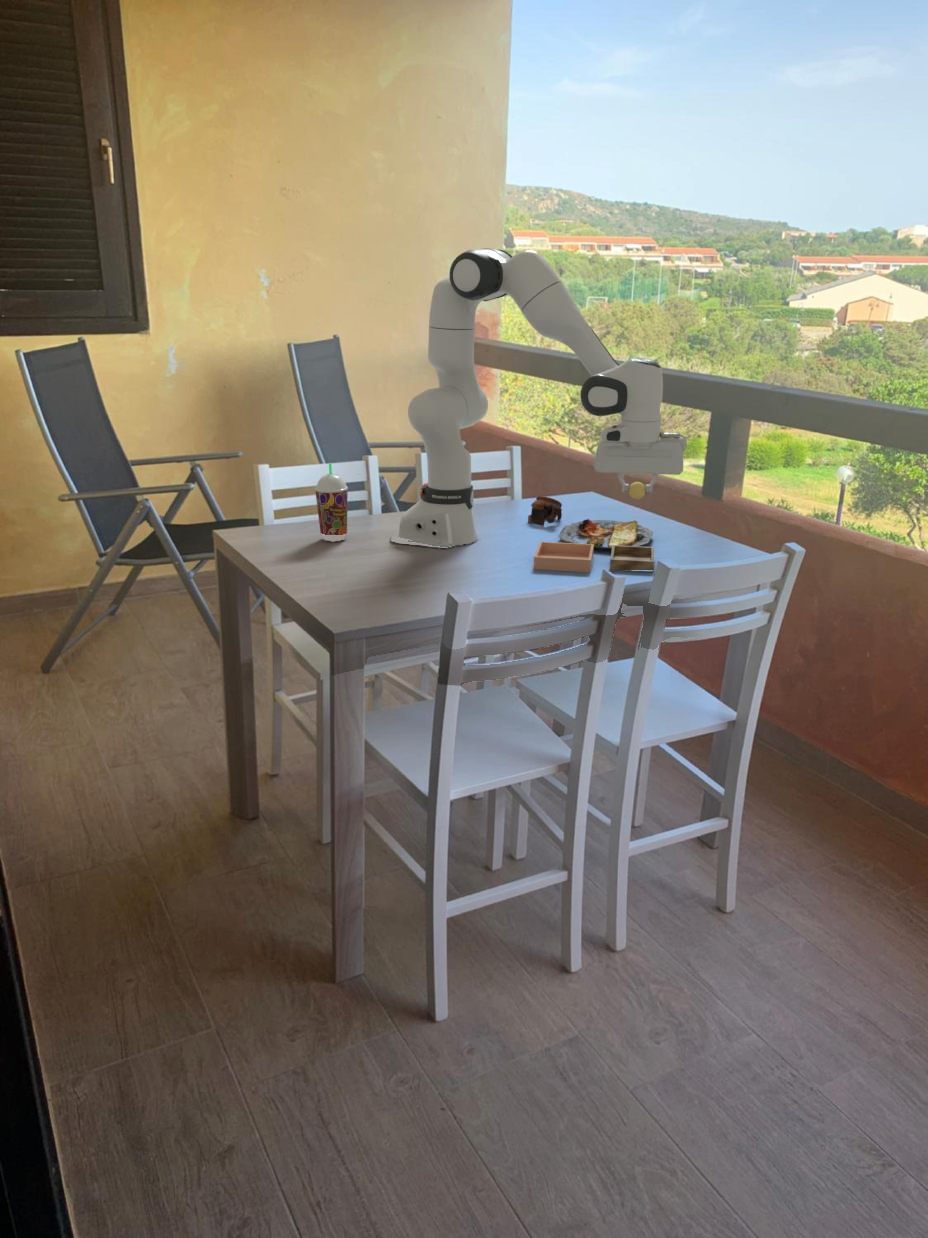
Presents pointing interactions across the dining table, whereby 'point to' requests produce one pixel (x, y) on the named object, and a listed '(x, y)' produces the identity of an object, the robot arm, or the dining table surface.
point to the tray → (632, 558)
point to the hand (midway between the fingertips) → (636, 492)
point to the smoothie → (332, 504)
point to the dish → (564, 556)
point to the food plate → (607, 533)
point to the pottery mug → (545, 511)
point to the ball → (636, 490)
